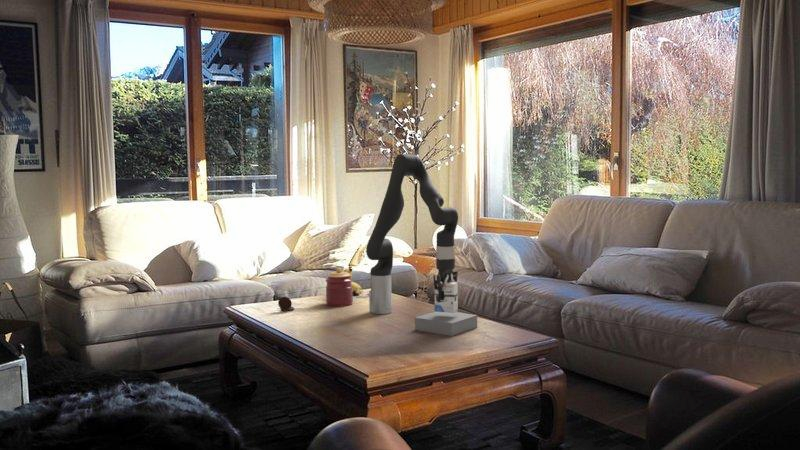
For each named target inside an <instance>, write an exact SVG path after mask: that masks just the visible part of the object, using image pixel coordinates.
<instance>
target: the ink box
mask: <svg viewBox="0 0 800 450" xmlns="http://www.w3.org/2000/svg"><path fill="white" fill-rule="evenodd" d="M441 283H442V282H441ZM458 285H459V283H458V281H457V282H447V283H446V286H445V287H444V300H439V298H438V290H435V289H434V312H450V313H454V312H458V308H459V307H458V305H459V299H458V298H459V297H458V295H459V293H458V292H459V291H458ZM437 287H438V284H437ZM441 288H442V285H441Z"/></svg>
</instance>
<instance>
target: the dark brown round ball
mask: <svg viewBox="0 0 800 450" xmlns="http://www.w3.org/2000/svg"><path fill="white" fill-rule="evenodd" d="M277 303H278V305H277V306H278V307H277V310H281V312H292V311H295V307H293V306H292V305H293V304H292V300H291V299H290V298H289V297H287V296H282V297H280V298H279V299H278V302H277Z"/></svg>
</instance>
